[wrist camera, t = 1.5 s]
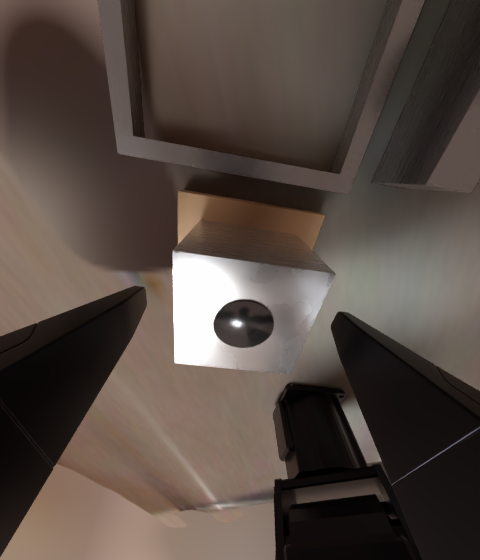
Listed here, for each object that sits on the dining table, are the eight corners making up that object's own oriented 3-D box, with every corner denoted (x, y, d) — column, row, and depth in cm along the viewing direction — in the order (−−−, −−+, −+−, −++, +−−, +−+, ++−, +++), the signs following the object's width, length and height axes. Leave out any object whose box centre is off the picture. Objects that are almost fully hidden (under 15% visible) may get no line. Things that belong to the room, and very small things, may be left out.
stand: (317, 212, 11) (325, 215, 10) (282, 314, 15) (285, 324, 14) (183, 189, 11) (177, 191, 10) (182, 302, 15) (178, 312, 13)
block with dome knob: (296, 234, 11) (336, 274, 6) (273, 309, 13) (290, 376, 9) (200, 219, 10) (171, 251, 6) (196, 300, 13) (174, 364, 9)
